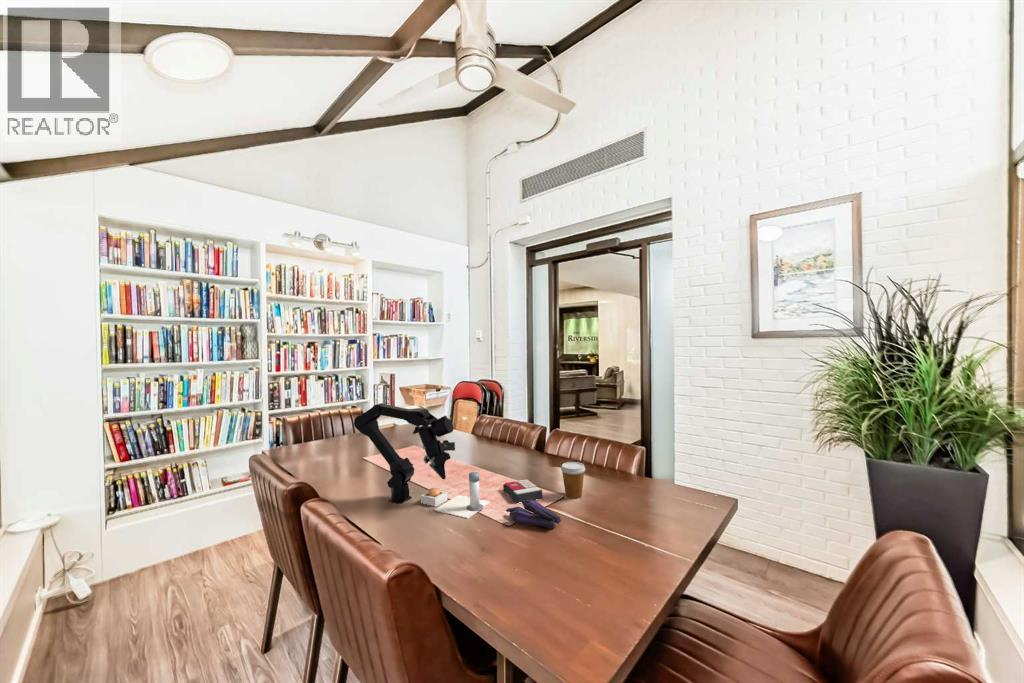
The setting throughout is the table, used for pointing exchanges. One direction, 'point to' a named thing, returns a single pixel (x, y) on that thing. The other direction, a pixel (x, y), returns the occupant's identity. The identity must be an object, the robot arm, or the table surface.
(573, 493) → the disposable coffee cup
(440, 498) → the button housing
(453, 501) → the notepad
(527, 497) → the red gray flat box
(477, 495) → the white gray cylinder
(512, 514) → the purple stapler
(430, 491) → the button
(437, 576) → the table surface
